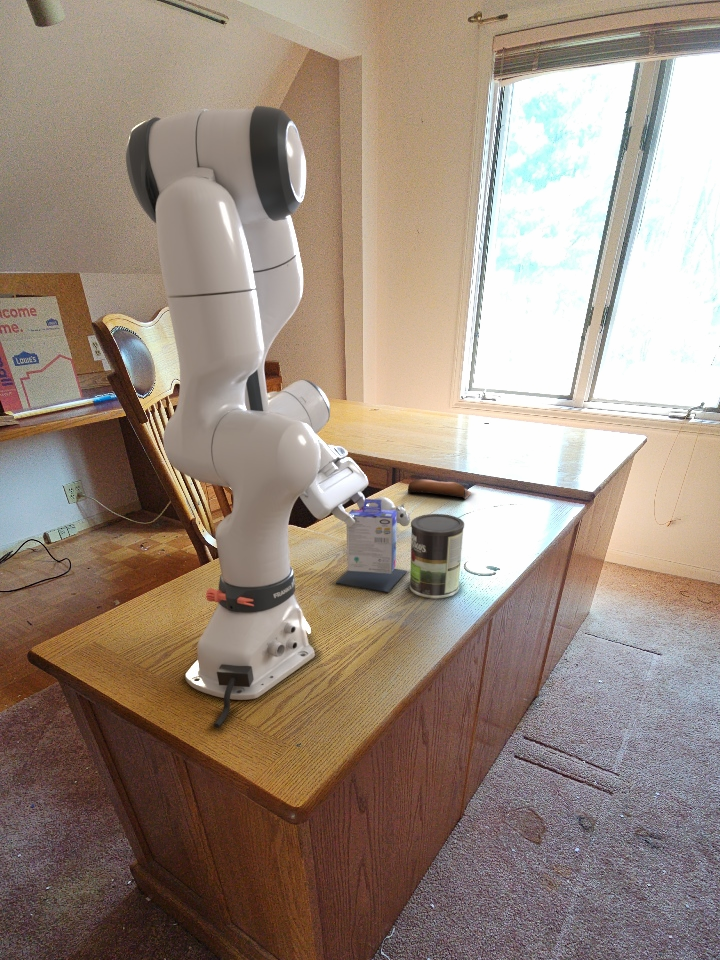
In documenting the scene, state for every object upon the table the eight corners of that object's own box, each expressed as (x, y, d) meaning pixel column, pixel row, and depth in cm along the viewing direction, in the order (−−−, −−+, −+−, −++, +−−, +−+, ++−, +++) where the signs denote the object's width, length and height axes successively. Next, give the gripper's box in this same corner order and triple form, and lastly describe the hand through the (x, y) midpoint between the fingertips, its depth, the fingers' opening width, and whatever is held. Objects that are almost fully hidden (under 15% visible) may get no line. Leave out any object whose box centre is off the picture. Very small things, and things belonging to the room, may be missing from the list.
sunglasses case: (472, 491, 170) (470, 475, 165) (466, 508, 168) (463, 492, 162) (417, 485, 177) (413, 469, 172) (409, 502, 174) (406, 486, 169)
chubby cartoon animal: (402, 540, 139) (402, 506, 135) (362, 531, 145) (361, 499, 141) (416, 531, 144) (417, 498, 140) (377, 523, 150) (376, 491, 146)
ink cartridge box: (397, 564, 122) (398, 498, 114) (393, 574, 117) (394, 506, 110) (352, 562, 123) (351, 496, 116) (347, 571, 119) (344, 504, 112)
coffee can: (421, 602, 111) (423, 534, 103) (402, 581, 119) (403, 517, 112) (468, 594, 113) (473, 527, 106) (446, 574, 122) (450, 511, 114)
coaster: (387, 593, 114) (387, 591, 114) (335, 584, 119) (335, 582, 119) (406, 572, 123) (406, 570, 123) (357, 564, 127) (357, 562, 127)
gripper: (299, 469, 104) (348, 526, 105) (347, 445, 120) (389, 495, 121) (281, 490, 108) (329, 545, 109) (329, 464, 124) (370, 512, 125)
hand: (361, 518), depth 115 cm, fingers closed on ink cartridge box, 6 cm apart
